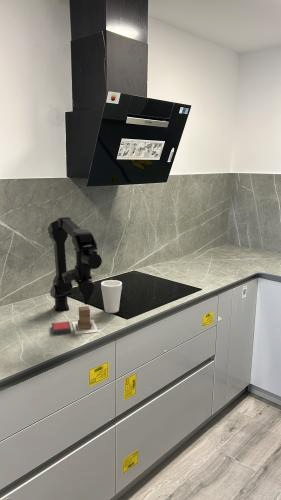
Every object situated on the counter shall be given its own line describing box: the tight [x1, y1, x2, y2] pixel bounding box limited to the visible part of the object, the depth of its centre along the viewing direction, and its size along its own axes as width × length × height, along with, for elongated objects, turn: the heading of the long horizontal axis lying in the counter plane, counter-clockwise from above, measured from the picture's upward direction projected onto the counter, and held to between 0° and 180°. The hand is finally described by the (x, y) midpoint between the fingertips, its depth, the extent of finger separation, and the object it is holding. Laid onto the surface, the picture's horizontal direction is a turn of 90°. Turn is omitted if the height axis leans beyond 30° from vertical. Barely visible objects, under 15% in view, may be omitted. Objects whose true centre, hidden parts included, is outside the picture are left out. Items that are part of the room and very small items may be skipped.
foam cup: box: [100, 279, 123, 314], centre depth 178 cm, size 10×9×13 cm
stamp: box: [77, 305, 92, 330], centre depth 160 cm, size 5×5×8 cm
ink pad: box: [51, 321, 72, 336], centre depth 159 cm, size 8×7×2 cm
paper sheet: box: [71, 319, 99, 336], centre depth 161 cm, size 12×9×1 cm
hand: (84, 300), depth 159 cm, fingers open, 9 cm apart
